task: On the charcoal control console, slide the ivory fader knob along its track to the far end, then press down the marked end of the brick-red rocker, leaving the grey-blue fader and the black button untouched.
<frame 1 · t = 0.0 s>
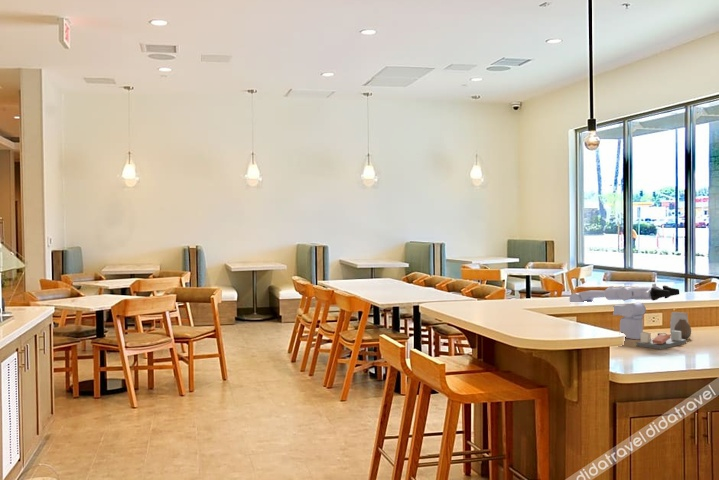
hand: (674, 292, 302), 22 cm above the table, tool horizontal, fingers open, 7 cm apart
vase: (682, 339, 312), on the table
knob a: (645, 337, 298), point 4 cm above the table, slide at 0.0 cm
grey rectangular block: (679, 334, 323), on the table
rocker: (661, 338, 294), point 4 cm above the table, hinge at 15.0°
console: (661, 344, 300), on the table
knob b: (676, 335, 300), point 4 cm above the table, slide at 0.0 cm
button: (662, 335, 307), point 2 cm above the table, slide at 0.0 cm
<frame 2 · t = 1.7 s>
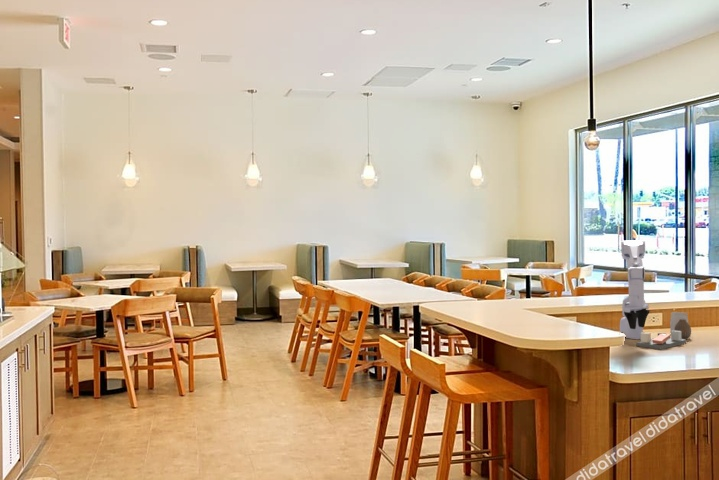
hand: (637, 327, 294), 8 cm above the table, tool pointing down, fingers open, 6 cm apart
nothing on the table moved.
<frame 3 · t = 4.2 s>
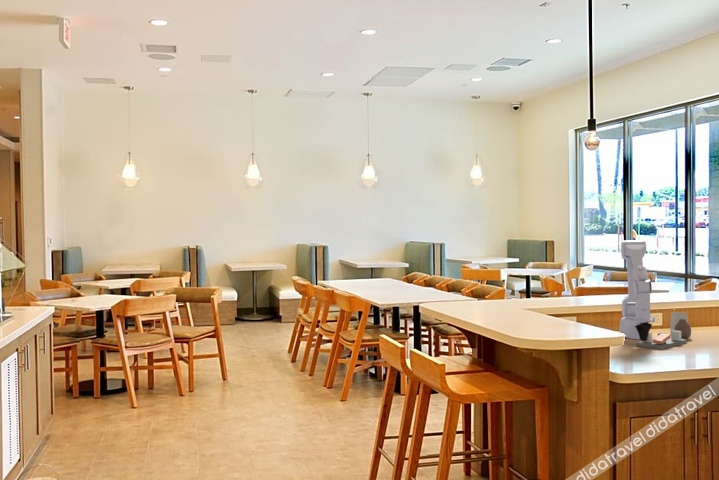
hand: (643, 340, 297), 2 cm above the table, tool pointing down, fingers closed
knob a: (647, 336, 299), point 4 cm above the table, slide at 1.1 cm, touching gripper
everything else where it was.
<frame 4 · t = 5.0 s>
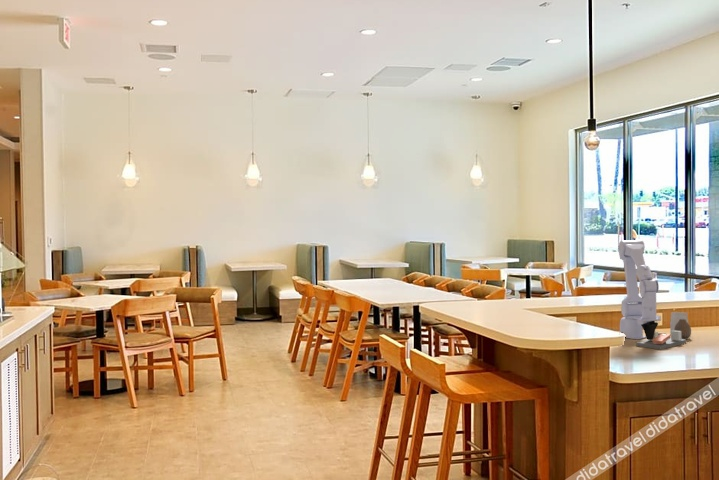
hand: (649, 339, 300), 2 cm above the table, tool pointing down, fingers closed
knob a: (653, 335, 301), point 4 cm above the table, slide at 5.8 cm, touching gripper
everything else where it was.
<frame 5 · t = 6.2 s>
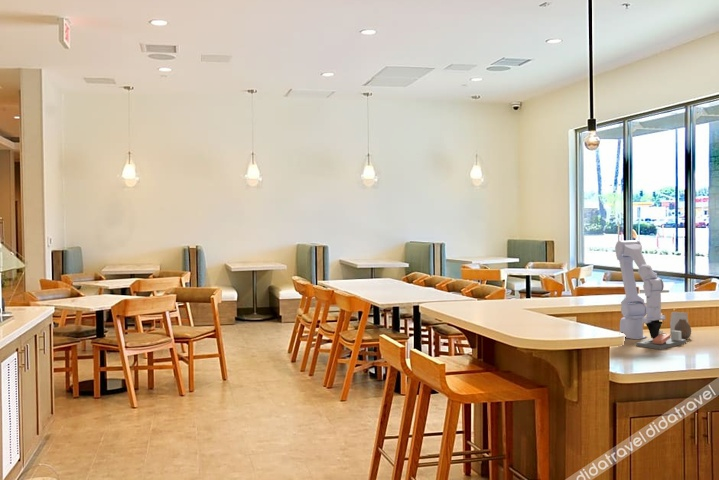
hand: (654, 338, 302), 2 cm above the table, tool pointing down, fingers closed
knob a: (657, 334, 303), point 4 cm above the table, slide at 9.2 cm, touching gripper
everything else where it was.
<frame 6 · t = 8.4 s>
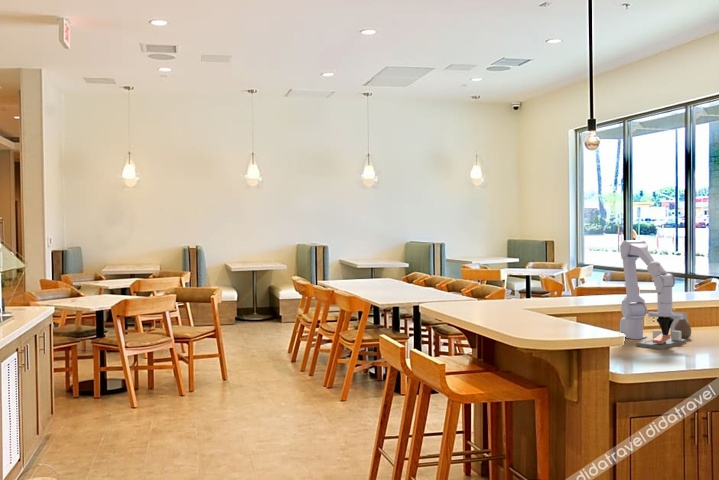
hand: (665, 335, 296), 5 cm above the table, tool pointing down, fingers closed, pressing on rocker
knob a: (657, 334, 303), point 4 cm above the table, slide at 9.2 cm
rocker: (661, 338, 294), point 4 cm above the table, hinge at 14.2°, touching gripper
everything else where it was.
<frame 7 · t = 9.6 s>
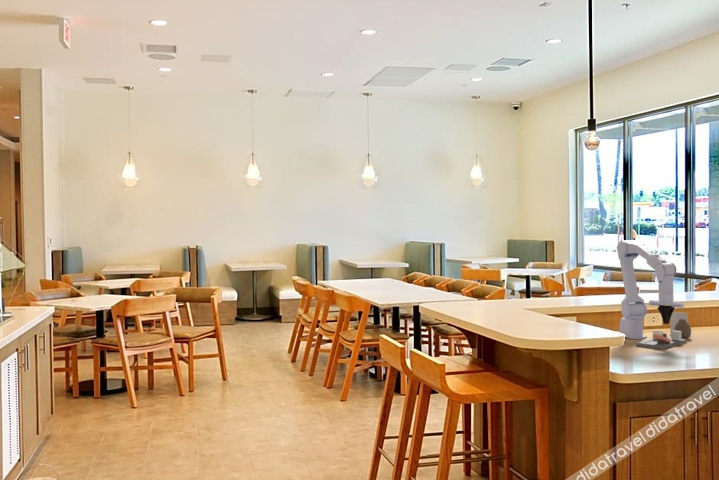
hand: (666, 323, 296), 9 cm above the table, tool pointing down, fingers closed
rocker: (661, 338, 294), point 4 cm above the table, hinge at -22.2°, touching console
everything else where it was.
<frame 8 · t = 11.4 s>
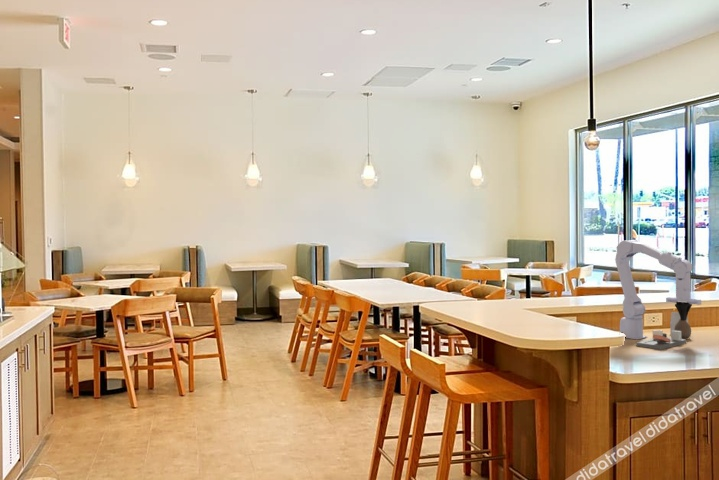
hand: (683, 320, 301), 10 cm above the table, tool pointing down, fingers closed
rocker: (661, 338, 294), point 4 cm above the table, hinge at -19.9°
everything else where it was.
at the end: knob a slide at 9.2 cm; rocker at -20° (first picture: +15°); knob b slide at 0.0 cm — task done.
